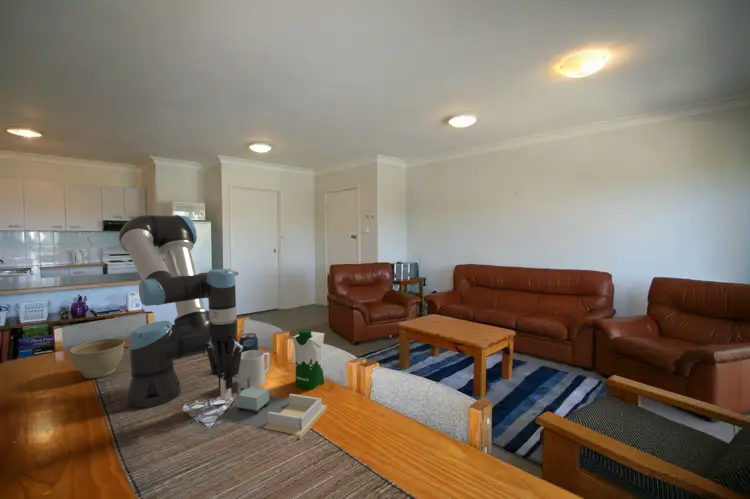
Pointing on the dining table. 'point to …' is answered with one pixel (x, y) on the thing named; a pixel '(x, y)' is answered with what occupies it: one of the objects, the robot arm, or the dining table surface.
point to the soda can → (249, 342)
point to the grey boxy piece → (251, 396)
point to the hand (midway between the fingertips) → (226, 398)
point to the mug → (253, 367)
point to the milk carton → (309, 359)
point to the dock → (281, 414)
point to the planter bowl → (97, 357)
